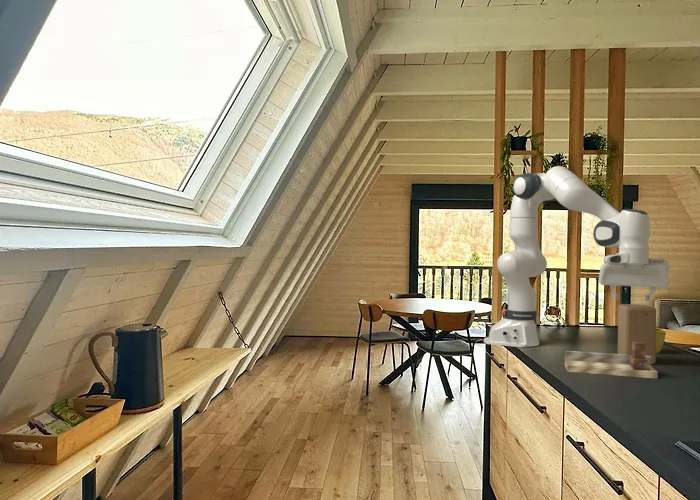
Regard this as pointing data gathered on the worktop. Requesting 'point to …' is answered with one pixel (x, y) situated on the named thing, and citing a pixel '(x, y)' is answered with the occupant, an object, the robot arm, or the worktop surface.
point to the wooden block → (637, 328)
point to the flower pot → (659, 339)
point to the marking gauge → (638, 356)
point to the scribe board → (606, 364)
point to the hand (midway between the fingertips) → (632, 300)
